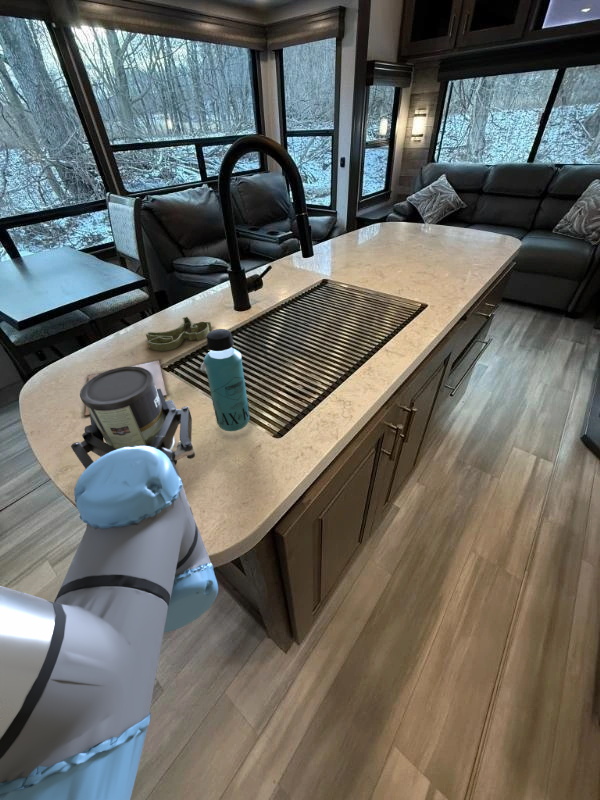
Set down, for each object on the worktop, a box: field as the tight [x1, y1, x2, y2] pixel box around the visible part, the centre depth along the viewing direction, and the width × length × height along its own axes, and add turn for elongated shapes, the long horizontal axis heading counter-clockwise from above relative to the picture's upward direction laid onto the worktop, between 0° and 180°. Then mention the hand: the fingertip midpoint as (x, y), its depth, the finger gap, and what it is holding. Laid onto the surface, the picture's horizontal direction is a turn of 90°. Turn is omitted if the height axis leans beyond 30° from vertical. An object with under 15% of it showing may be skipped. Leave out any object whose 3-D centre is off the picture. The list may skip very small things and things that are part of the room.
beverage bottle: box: [203, 328, 251, 432], centre depth 58 cm, size 6×7×20 cm
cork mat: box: [84, 359, 167, 417], centre depth 76 cm, size 16×16×1 cm
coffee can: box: [79, 365, 176, 451], centre depth 55 cm, size 10×10×14 cm
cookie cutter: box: [145, 316, 212, 352], centre depth 94 cm, size 18×12×2 cm, turn 142°
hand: (128, 404), depth 58 cm, fingers closed on coffee can, 10 cm apart
